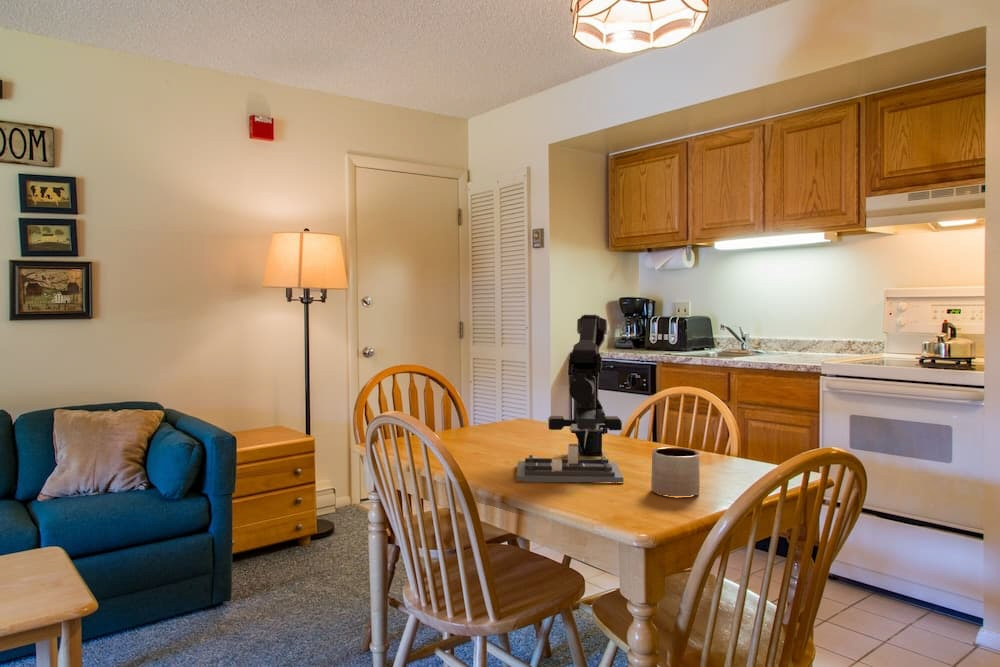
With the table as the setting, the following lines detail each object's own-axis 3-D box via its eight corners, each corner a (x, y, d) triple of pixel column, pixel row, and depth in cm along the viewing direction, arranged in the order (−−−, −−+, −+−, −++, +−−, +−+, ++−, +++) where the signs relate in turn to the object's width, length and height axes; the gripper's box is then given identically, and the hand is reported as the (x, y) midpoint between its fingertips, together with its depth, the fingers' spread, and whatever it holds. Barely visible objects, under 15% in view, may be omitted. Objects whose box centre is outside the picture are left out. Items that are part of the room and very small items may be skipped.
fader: (576, 462, 179) (577, 442, 179) (577, 465, 176) (578, 445, 175) (567, 462, 179) (567, 442, 179) (568, 465, 176) (568, 445, 176)
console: (615, 467, 181) (615, 451, 181) (623, 483, 165) (623, 465, 165) (517, 466, 182) (517, 449, 182) (516, 482, 166) (516, 463, 166)
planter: (653, 498, 153) (653, 456, 153) (649, 485, 164) (649, 446, 163) (702, 500, 152) (703, 457, 151) (695, 487, 162) (696, 447, 162)
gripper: (549, 400, 169) (549, 462, 170) (625, 401, 168) (624, 463, 169) (548, 394, 180) (547, 452, 181) (618, 395, 179) (618, 453, 180)
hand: (584, 455), depth 177 cm, fingers closed
